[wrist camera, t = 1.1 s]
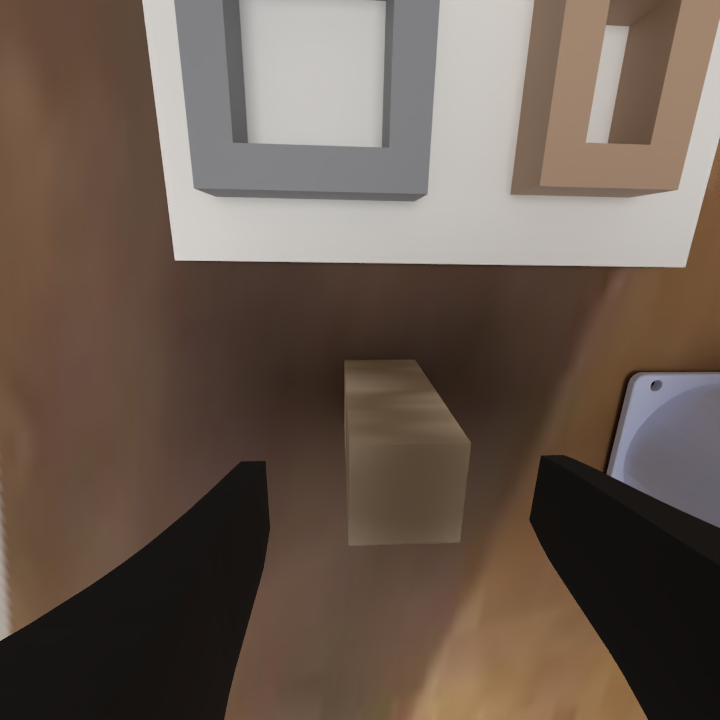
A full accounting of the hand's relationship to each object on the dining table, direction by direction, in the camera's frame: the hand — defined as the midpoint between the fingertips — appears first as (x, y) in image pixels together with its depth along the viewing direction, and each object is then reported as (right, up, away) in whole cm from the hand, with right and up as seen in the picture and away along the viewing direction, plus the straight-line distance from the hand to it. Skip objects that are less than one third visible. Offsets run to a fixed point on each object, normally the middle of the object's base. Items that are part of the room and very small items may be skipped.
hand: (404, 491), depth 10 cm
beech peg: (0, +2, +6) cm, 7 cm away
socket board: (+2, +13, +3) cm, 13 cm away
